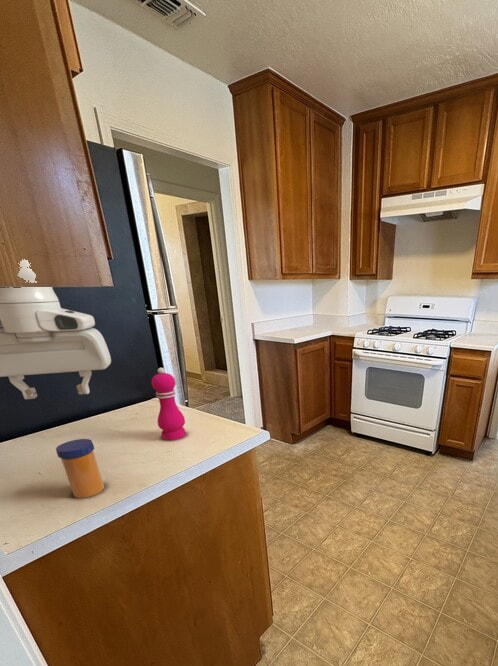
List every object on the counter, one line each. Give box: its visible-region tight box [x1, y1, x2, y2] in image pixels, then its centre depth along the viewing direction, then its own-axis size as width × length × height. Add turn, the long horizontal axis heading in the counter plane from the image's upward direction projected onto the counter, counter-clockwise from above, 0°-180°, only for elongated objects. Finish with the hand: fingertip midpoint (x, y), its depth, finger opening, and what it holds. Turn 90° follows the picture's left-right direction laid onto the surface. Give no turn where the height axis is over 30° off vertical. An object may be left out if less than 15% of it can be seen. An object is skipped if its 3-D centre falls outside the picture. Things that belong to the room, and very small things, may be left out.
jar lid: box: [55, 438, 95, 459], centre depth 72 cm, size 6×6×2 cm
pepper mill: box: [151, 367, 186, 441], centre depth 98 cm, size 7×7×20 cm
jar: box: [60, 450, 105, 499], centre depth 73 cm, size 6×6×10 cm
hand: (58, 395), depth 67 cm, fingers open, 7 cm apart
